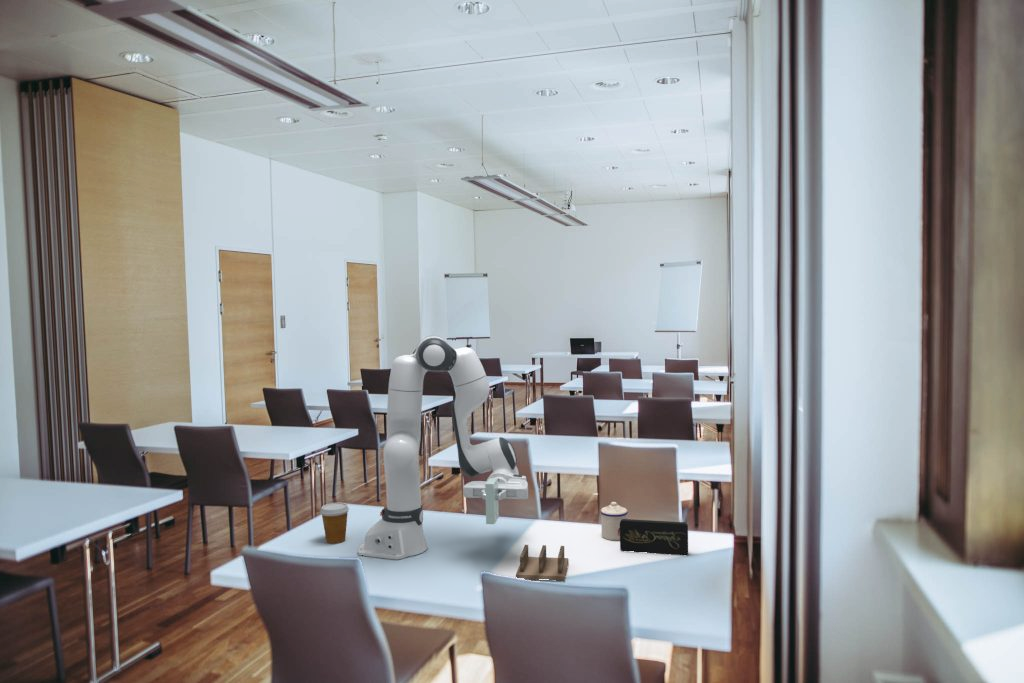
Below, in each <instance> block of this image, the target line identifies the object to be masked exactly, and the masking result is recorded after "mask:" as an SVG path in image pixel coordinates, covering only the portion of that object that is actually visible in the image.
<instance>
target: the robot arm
mask: <svg viewBox="0 0 1024 683" xmlns="http://www.w3.org/2000/svg"><path fill="white" fill-rule="evenodd" d="M428 371H430V372H447V373H448V374H449V376H450V378H451V381H452V383H453V386H454V390H455V397H454V398H455V399H454V400H453V402H452V403H451V417H452V424H453V431H454V436H455V442H456V447H457V448H456V449H457V456H458V457H457V458H458V465H459V469H460V471H461V473H463V474H464V475H465V476H468V477H471V478H475V477H478V476H480V475H482V474H484V473H488V472H491V471H492V473H490V475H489V476H488V478H486V481H483V480H473V481H469V482H467V483H465V484H464V485H463V487H462V490H463V491H462V495H463V497H464V498H467V499H482V500H484V501H486V497H485V484H486V482H487V481H488V480H489V478H498V493H496V500H498V501H503V500H507V499H508V500H527V499H528V498H529V483H528V481H527V476H525V475H521V474H519V469H518V467H517V462H518V459H517V454H516V450H515V448H514V446H513V444H512V443H511V442H510V440H509V441H508V439H506V438H504V437H503V436H502V437H501V436H500V437H496V438H493V439H490V440H487V441H483V442H480V443H478V444H471V440H470V436H469V435H470V434H469V429H468V418H469V416H470V415H471V414H472V413H474V411H475V410H477V409H478V408H479V407H481V406H482V404H484V402H485V401H486V400H487V399H488V397H489V395H490V389H491V388H490V383H489V380H488V377H487V376H488V375H487V374H486V371H485V368H484V366H483V364H482V362H481V359H480V358H479V356H478V355H477V353H476V352H475V350H474V349H473V348H471V347H466V346H464V347H462V346H461V347H458V348H453V347H452V346H450V344H449V343H448V341H447V340H446V339H445V338H443V337H441V336H440V335H439V336H438V335H434V334H433V335H428V336H426V337H424V338H422V339H421V341H419V343H418V344H417V346H416V348H415V349H414V351H413V352H412V354H403V355H399V356H397V357H396V358H395V359H394V360H393V361H392V365H391V369H390V372H389V373H390V375H389V380H388V389H387V390H388V391H387V405H386V406H387V407H386V408H387V409H386V441H385V444H384V446H383V451H382V453H383V456H382V457H383V466H384V467H383V470H384V479H385V487H386V488H385V489H386V491H385V492H386V493H385V494H386V504H385V505H384V507H383V508H382V509H381V510H380V513H379V516H380V517H381V519H379V520H378V521H377V522H376V523H375V524H374V525H371V527H370V528H369V529H368V530H367V531H366V533H365V538H364V542H363V543H362V544H361V545H360V546H359V547H358V548H357V555H358V556H362V555H363V557H371V558H378V559H379V558H380V559H386V560H387V559H388V560H396V561H397V560H401V559H404V558H407V557H413V556H416V555H419V554H420V555H421V554H422V553H424V552H426V550H428V544H427V540H426V537H425V532H424V527H423V522H424V511H423V510H424V509H423V505H422V498H421V497H422V496H421V475H420V459H419V456H420V455H419V451H420V446H421V444H420V443H421V428H422V427H421V426H422V408H423V392H424V379H425V375H426V373H428Z"/></svg>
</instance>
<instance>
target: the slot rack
mask: <svg viewBox="0 0 1024 683" xmlns="http://www.w3.org/2000/svg"><path fill="white" fill-rule="evenodd" d="M538 555H539V556H529V544H524V546H523V548H522V551H521V553H520V556H519V565H518V568H517V570H516V573H515V578H516V577H517V578H524V579H529V580H528V581H537V580H539V579H549V580H556V581H555V582H561V581H563V583H565V580H566V577H565V576H567V572H568V568H567V567H569V557H565V545H560V548H559V551H558V556H557V557H547V545H546V544H545V545H544V544H542V546H541V549H540V552H539V554H538ZM539 581H540V582H541V581H542V582H543V581H544V582H548V581H547V580H539Z"/></svg>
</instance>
